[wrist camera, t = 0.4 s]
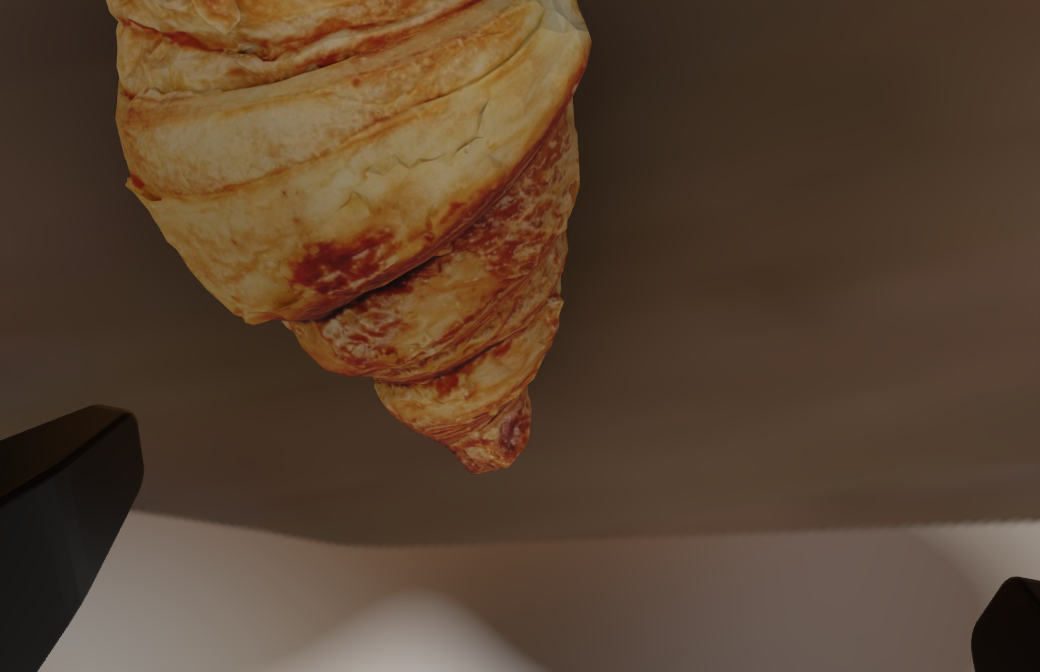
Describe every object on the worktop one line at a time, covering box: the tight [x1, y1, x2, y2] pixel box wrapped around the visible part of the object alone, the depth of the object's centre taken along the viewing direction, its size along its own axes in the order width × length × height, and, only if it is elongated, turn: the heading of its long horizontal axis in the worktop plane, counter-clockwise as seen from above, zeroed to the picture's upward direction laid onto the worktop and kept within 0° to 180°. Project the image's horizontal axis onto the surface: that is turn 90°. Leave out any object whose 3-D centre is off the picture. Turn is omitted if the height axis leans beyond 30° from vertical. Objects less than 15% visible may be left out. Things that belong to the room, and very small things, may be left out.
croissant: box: [106, 0, 592, 474], centre depth 20 cm, size 21×10×8 cm, turn 18°
